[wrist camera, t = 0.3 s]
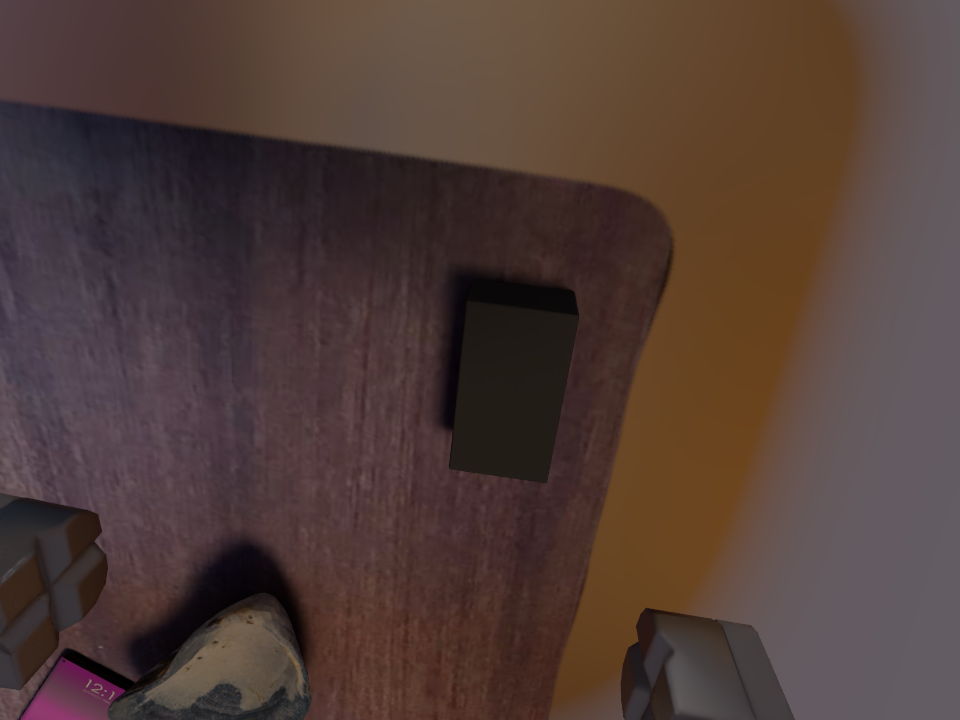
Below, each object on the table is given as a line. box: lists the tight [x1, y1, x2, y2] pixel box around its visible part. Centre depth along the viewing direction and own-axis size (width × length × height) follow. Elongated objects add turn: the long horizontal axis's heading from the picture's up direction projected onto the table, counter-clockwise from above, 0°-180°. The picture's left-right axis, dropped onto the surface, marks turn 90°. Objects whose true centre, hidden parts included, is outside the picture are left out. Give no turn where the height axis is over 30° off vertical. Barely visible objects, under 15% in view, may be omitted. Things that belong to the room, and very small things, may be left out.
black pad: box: [449, 279, 579, 483], centre depth 25 cm, size 8×4×3 cm, turn 174°
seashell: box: [107, 593, 312, 720], centre depth 34 cm, size 15×12×5 cm
